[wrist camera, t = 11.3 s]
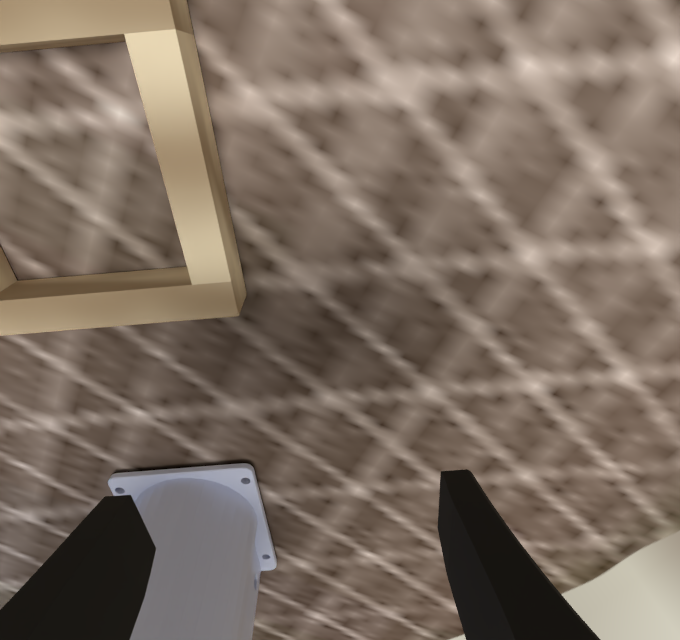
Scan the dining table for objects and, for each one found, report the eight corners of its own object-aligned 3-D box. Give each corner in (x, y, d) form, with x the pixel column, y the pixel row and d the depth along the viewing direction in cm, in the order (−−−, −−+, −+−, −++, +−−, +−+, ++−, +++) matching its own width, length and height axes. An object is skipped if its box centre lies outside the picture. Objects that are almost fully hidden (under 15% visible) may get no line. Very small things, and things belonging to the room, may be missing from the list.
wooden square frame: (246, 294, 19) (238, 316, 17) (-2, 314, 19) (-35, 338, 17) (182, -22, 13) (161, -37, 12) (-164, 10, 14) (-236, -1, 12)
